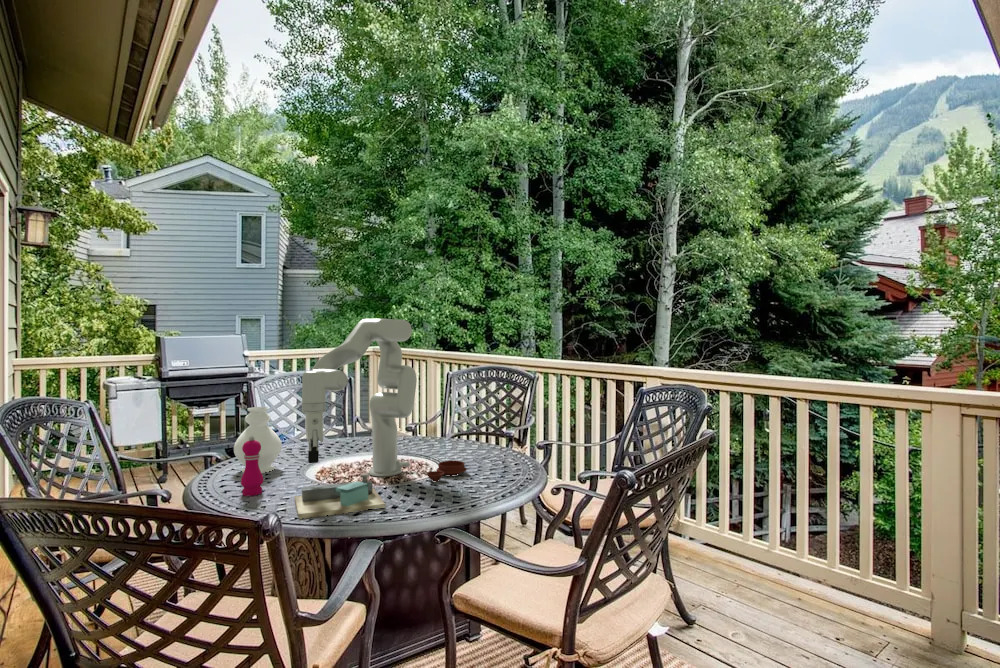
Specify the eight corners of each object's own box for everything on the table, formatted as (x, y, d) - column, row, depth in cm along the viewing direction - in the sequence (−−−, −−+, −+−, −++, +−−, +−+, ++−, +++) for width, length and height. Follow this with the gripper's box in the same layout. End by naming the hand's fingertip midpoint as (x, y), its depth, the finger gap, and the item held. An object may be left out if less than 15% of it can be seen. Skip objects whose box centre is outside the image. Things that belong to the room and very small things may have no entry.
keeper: (357, 496, 195) (357, 481, 195) (368, 499, 192) (368, 483, 192) (336, 503, 188) (335, 487, 188) (347, 506, 185) (347, 490, 185)
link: (371, 490, 202) (371, 480, 202) (373, 494, 197) (373, 483, 197) (301, 497, 194) (301, 487, 193) (302, 502, 189) (302, 491, 189)
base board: (373, 492, 206) (373, 469, 206) (385, 508, 187) (385, 483, 187) (294, 500, 196) (294, 477, 196) (298, 519, 178) (298, 492, 177)
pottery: (472, 473, 232) (472, 462, 232) (443, 485, 214) (443, 473, 214) (447, 469, 238) (447, 458, 238) (417, 481, 220) (417, 469, 220)
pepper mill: (245, 490, 208) (244, 434, 208) (266, 490, 209) (265, 433, 209) (237, 496, 201) (237, 438, 201) (259, 496, 202) (259, 437, 201)
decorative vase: (288, 464, 247) (287, 404, 247) (272, 475, 229) (272, 411, 229) (244, 465, 247) (244, 405, 246) (226, 476, 229) (225, 411, 229)
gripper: (327, 409, 194) (327, 466, 193) (323, 405, 207) (322, 457, 207) (303, 410, 191) (303, 467, 191) (300, 405, 205) (300, 459, 204)
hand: (313, 462), depth 199 cm, fingers closed
